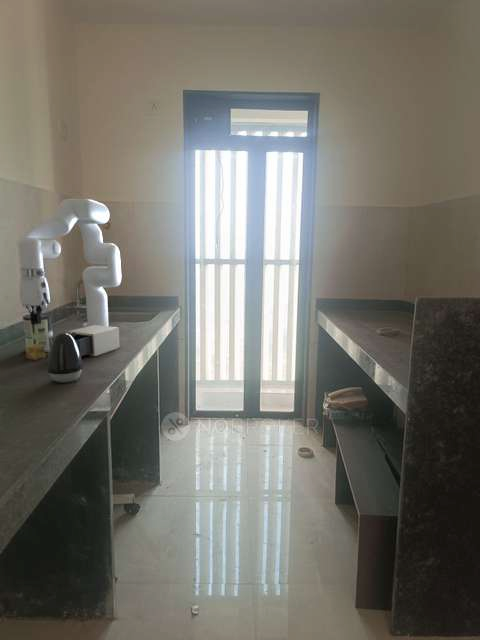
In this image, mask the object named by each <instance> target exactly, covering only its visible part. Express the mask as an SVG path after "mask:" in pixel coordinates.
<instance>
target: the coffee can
mask: <svg viewBox="0 0 480 640" xmlns="http://www.w3.org/2000/svg"><path fill="white" fill-rule="evenodd" d="M30 314H31V313H28V314H25V315H22V321H23V331H24V341H25V342H24V343H25V348H26V347H27V346H30V345H34V344H38V345H44V348H50V347H51V344H52V338H54V335H53V323H52V322H53V321H52V314H51V313H46V312H42V313H41V324H36V325H34V324H31V317H30Z"/></svg>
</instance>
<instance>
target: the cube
mask: <svg viewBox="0 0 480 640" xmlns="http://www.w3.org/2000/svg"><path fill="white" fill-rule="evenodd" d="M25 356H26V359H28V360H33V361H36V360H39V359H43V358H45V357H46V352H45V351H44V345H38V344H34V345H30V346H27V347H26V346H25Z"/></svg>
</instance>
